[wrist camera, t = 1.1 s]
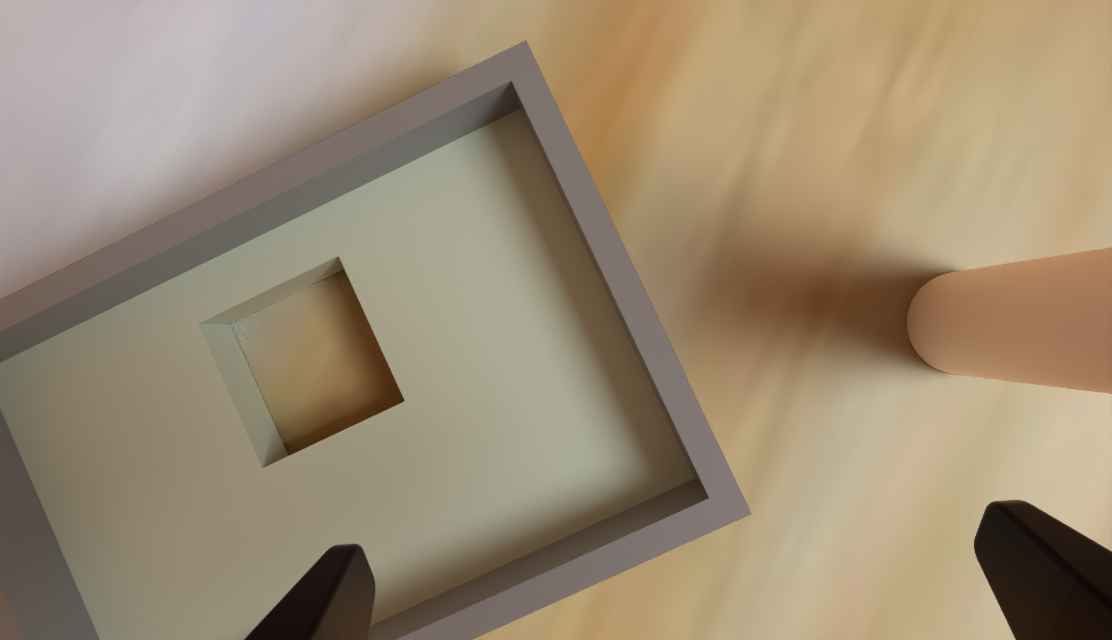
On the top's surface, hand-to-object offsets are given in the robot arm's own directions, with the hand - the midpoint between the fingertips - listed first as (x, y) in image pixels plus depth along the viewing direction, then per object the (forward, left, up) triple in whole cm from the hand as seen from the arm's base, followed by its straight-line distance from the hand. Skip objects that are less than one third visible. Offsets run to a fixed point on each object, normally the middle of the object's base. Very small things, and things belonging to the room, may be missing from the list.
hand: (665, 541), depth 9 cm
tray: (-1, +11, -15) cm, 19 cm away
